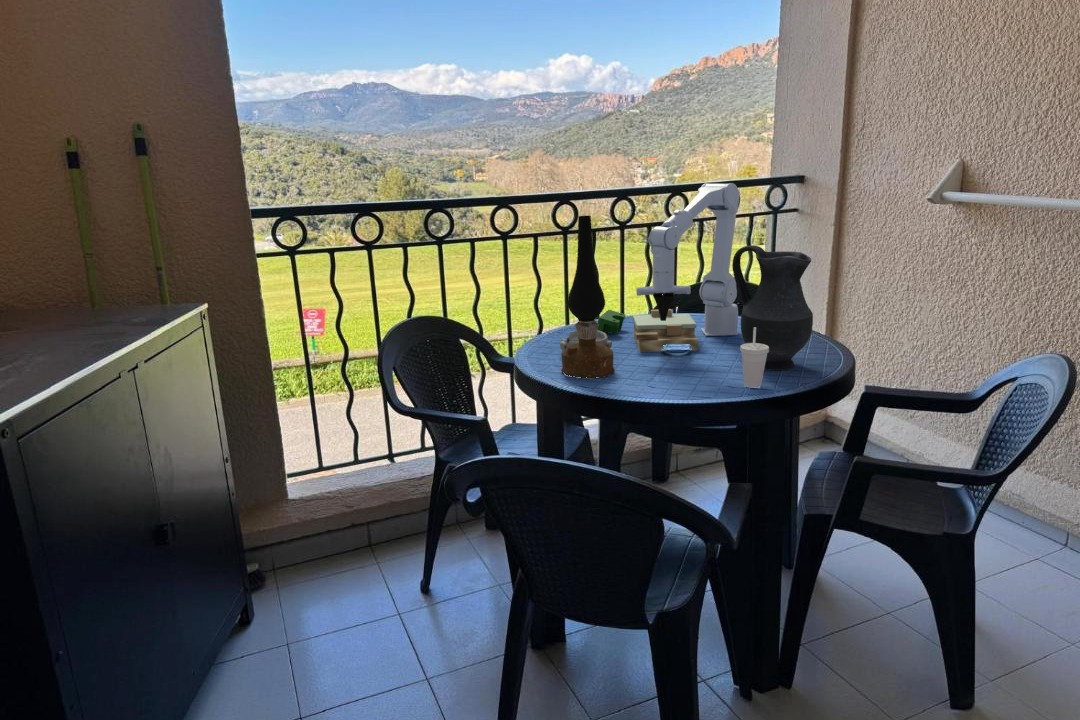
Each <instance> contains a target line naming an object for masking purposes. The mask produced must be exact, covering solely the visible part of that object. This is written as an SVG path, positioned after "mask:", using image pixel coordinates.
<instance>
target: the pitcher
mask: <svg viewBox="0 0 1080 720" xmlns="http://www.w3.org/2000/svg"><path fill="white" fill-rule="evenodd" d="M749 251H750V252H753V253H755V258H756V261H757V262H758V265H759V270H760V280H759V281H760V282H759V284H758V287H757V289H756V291H755V294H754V295H753V297H752V296H751V293H750V291H749V287H748V285H747V283H746V279H745V277H744V275H743V270H742V267H741V259H742V255H743V254H744V253H747V252H749ZM811 262H812V258H811V257H810V256H809V255H807V254H805V253H803V252H801V251H789V250H788V251H766V250H764V248H762V247H761V246H759V245H755V244H753V245H744V246H742V247H740V248H739V249H738V250H736V252H735V253H734V255H733V258H732V265H731V267H732V273H733V277H734V278H735V281H736V288H737V291H738V294H739V296H740V299H741V302H742V311H741V313H740V314H741V315H740V333H741V337H742V339H743V342H744V344H746V343H753V330H754V327H756V340H755V343H760V344H765V345H767V346H769V352H768V353H767V358H766V362H765V368H764V370H766V369H771V370H770V371H786V370H785V369H787V370H790V369H792V368H794V366H795V363H794V361H793V357H795V355H796V354H797V353H798V352H800V351H801V350H802V349H803V348H804V347H805V346H806V345H807V344H808V342H809V340H810V338H811V335H812V332H813V325H814V315H813V314H814V313H813V311H812V310H811V308H810V307H809V305H808V303H807V302H806V298H805V295H804V291H803V287H802V283H801V278H802V276H803V275H804V273H805V271H806V270H807V269H808V267H809V266H810V263H811Z"/></svg>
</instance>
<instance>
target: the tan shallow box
mask: <svg viewBox="0 0 1080 720" xmlns="http://www.w3.org/2000/svg"><path fill="white" fill-rule="evenodd" d="M695 330H696V328H682V335H671V336H667V334H666V329H642V330H637V328H636V326H635V323H634V322H633V337H634V340H635V343H636V345H637V348H638V350H639V352H640V353H644V352H645V353H648V352H649V353H651V352H662V351H661V348H662V346H663V345H666V344H690V345H691V347H692V350H691V351H698V350H699V349H698V348H699V345H698V344H699V339H698V337H697V336H696V333H695V332H696V331H695ZM642 332H657V333H658V339H644V340H636V338H635V333H642Z"/></svg>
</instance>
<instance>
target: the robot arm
mask: <svg viewBox="0 0 1080 720" xmlns="http://www.w3.org/2000/svg"><path fill="white" fill-rule="evenodd" d="M740 194H741V192H740V190H739V188H738V187H737V185H736V184H735V183H733V182H729V183H710V182H705V183H704V184H702V185H701V187H699V188H698V190H697V194H696V196H695V197H694V198H692V201H690V202H689V204H687V206H686V207H685V208H684V209H675V210H674V211H673V212H672V213H673V214H672V215H671V216H670V217H668V218H667V219H666V220H664V221H663V223H662V224H661V226H655V227H654V228H652V229H651V230H650V231H649V234H648V235H649V236H648V238H647V241H648V244H649V246H650V252H651V254H652V286H642V287H636V289H635V290H636V291H635V292H636V294H635V295H636V296H637V297H640V296H652V297H653V300H654V301H655V303H656V307H657V310H659V314H660V320H661V321H666V317H667V313H668V310H669V309H670V307H671V305H672V303H673V301H674V298H675V295H676V294H677V295H681V294H683V295H684V294H685V295H690V294H691V289H692V288H691V286H690V285H675V248H677V247H678V245H679V243H680V240H681V238H682V236H683V234H685V233H686V232H687V231H688V230H689V229H690V228H691V227H692V226H693V223H694V222H693V220H694V219H695V217H697V216H698V215H700V214H701V213H702V212H703V211H705V210H706V209H708V210H709V211H710V212H712V213H713V214H714V215H715V217H716V221H715V230H714V239H713V248H712V255H711V265H710V271H709V272H707V273H706V274H705V275H704V276H703V278H702V283H701V284H700V288H699V293H698V294H699V297H700V299H701V300H702V304H705V305H704V327H701V328H700V330H701V332H702V333H703V334H704V336H705V337H717V336H718V337H721V336H723V337H724V336H738V335H739V334H738V327H739V326H738V325H739V321H738V320H739V308H738V307H739V306H738V304H737V303H734V302H735V301H736V298H737V295H738V288H737V284H736V281H735V278H734V275H732V274H731V272H730V267H731V260H732V259H731V258H732V251H733V241H734V236H735V235H734V233H735V225H736V218H737V213H738V212H739V203H740V196H741V195H740Z"/></svg>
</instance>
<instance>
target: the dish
mask: <svg viewBox="0 0 1080 720" xmlns="http://www.w3.org/2000/svg"><path fill="white" fill-rule="evenodd" d="M567 337H569V339H570V340H579V339H578V337H579V334H578V332H577V330H576V329H575V330H571V331H569V332H568V335H567ZM595 337H596V343H598V342H600V344H602V345H604V346H606V347H608V348H610V349H611V348H612V346H613V341H612V340H609V338H608V335H607V333H606V332H605V333H604V332H601V331H598V330H597V331H596V334H595ZM560 339H561V340H560V342H559V347H560V349H561V351H562V352H563V351H564V350H565V349H567V348H568V347H570V346H572V345H574V344H576V343H579V341H569V343H567V338H564V337H561V338H560ZM562 352H561V353H562Z"/></svg>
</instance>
